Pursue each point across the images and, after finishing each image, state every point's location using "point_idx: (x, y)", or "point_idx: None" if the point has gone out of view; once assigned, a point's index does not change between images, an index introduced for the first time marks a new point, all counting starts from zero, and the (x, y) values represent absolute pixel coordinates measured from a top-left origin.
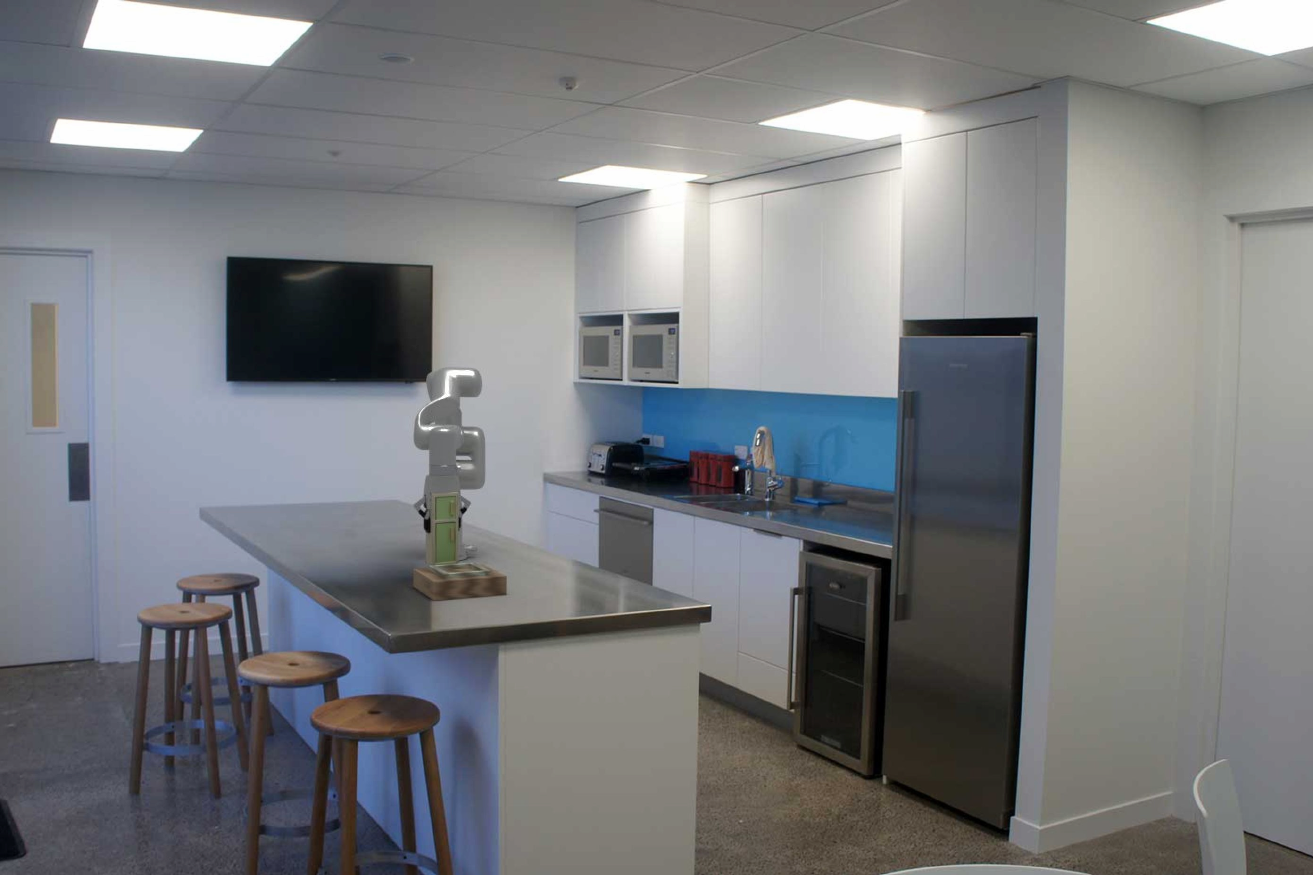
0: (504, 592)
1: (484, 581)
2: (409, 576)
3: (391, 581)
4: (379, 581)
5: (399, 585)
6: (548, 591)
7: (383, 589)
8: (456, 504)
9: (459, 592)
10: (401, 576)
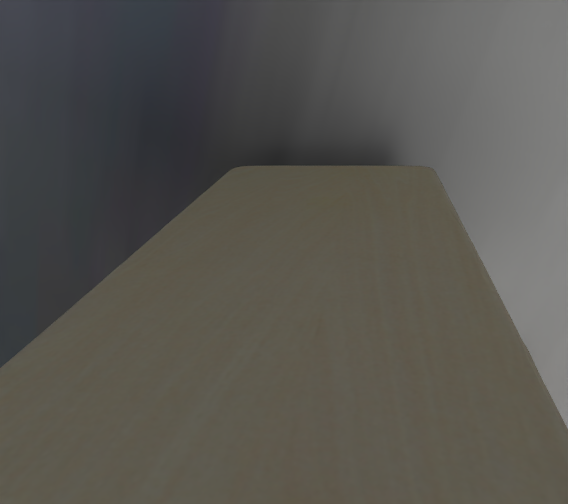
0: None
1: None
2: (179, 45)
3: (70, 161)
4: (12, 137)
5: (101, 275)
6: None
7: (29, 328)
8: None
9: None
10: (134, 27)
